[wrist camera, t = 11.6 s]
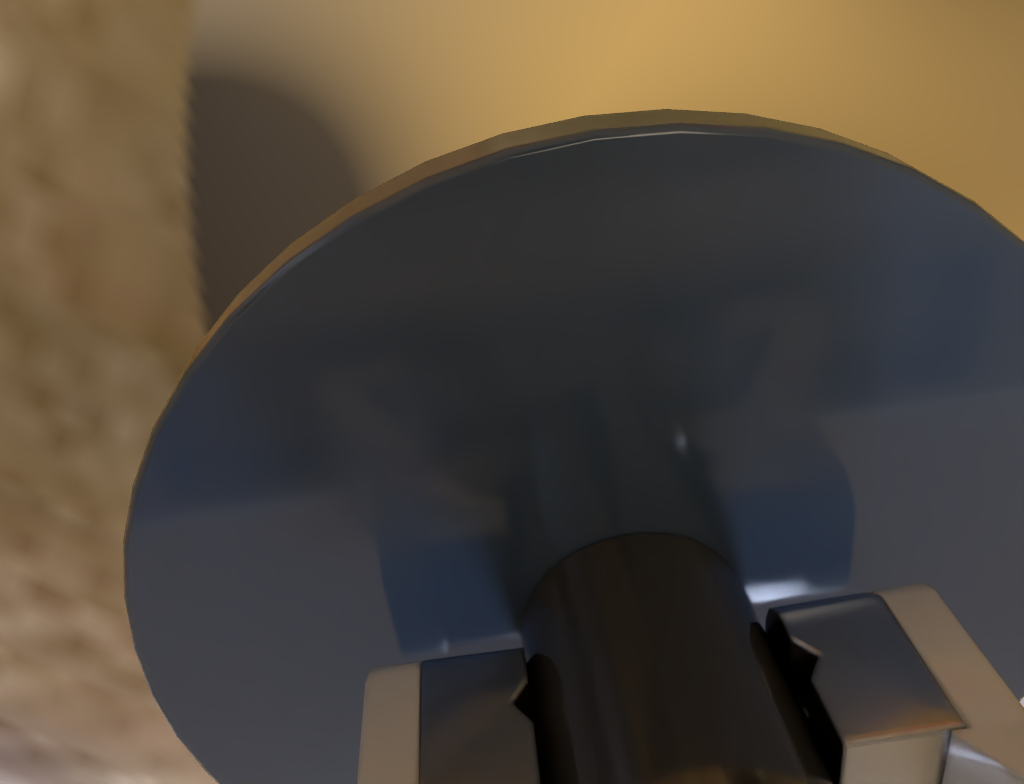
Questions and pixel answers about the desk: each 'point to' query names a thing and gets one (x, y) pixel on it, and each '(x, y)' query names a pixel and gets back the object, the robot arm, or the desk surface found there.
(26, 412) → the desk surface
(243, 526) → the pot lid
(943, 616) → the robot arm
